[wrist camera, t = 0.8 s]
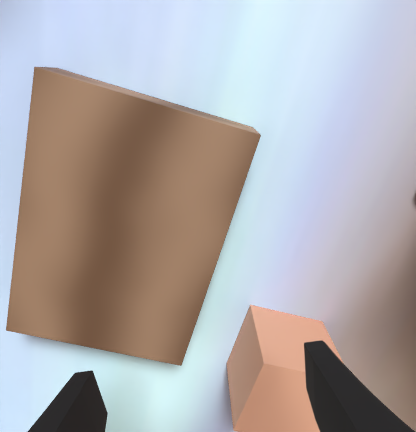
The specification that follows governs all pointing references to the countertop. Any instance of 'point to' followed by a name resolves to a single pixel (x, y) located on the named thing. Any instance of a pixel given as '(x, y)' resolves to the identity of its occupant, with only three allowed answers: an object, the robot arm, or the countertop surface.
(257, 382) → the terracotta cube
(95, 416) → the robot arm
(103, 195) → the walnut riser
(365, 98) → the countertop surface
